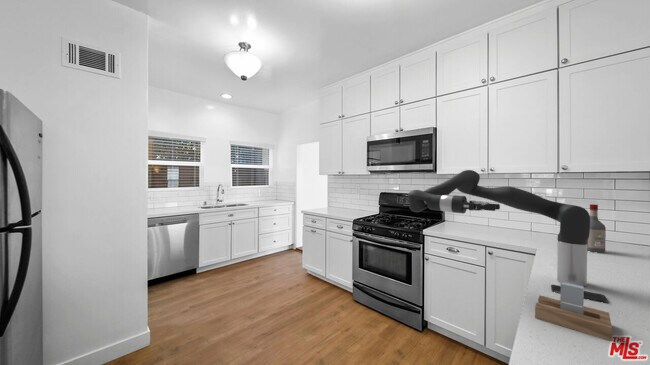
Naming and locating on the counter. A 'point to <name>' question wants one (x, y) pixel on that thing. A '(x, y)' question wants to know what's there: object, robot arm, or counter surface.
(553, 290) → the phone
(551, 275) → the counter surface
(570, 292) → the domino
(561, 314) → the rack
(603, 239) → the liquor
